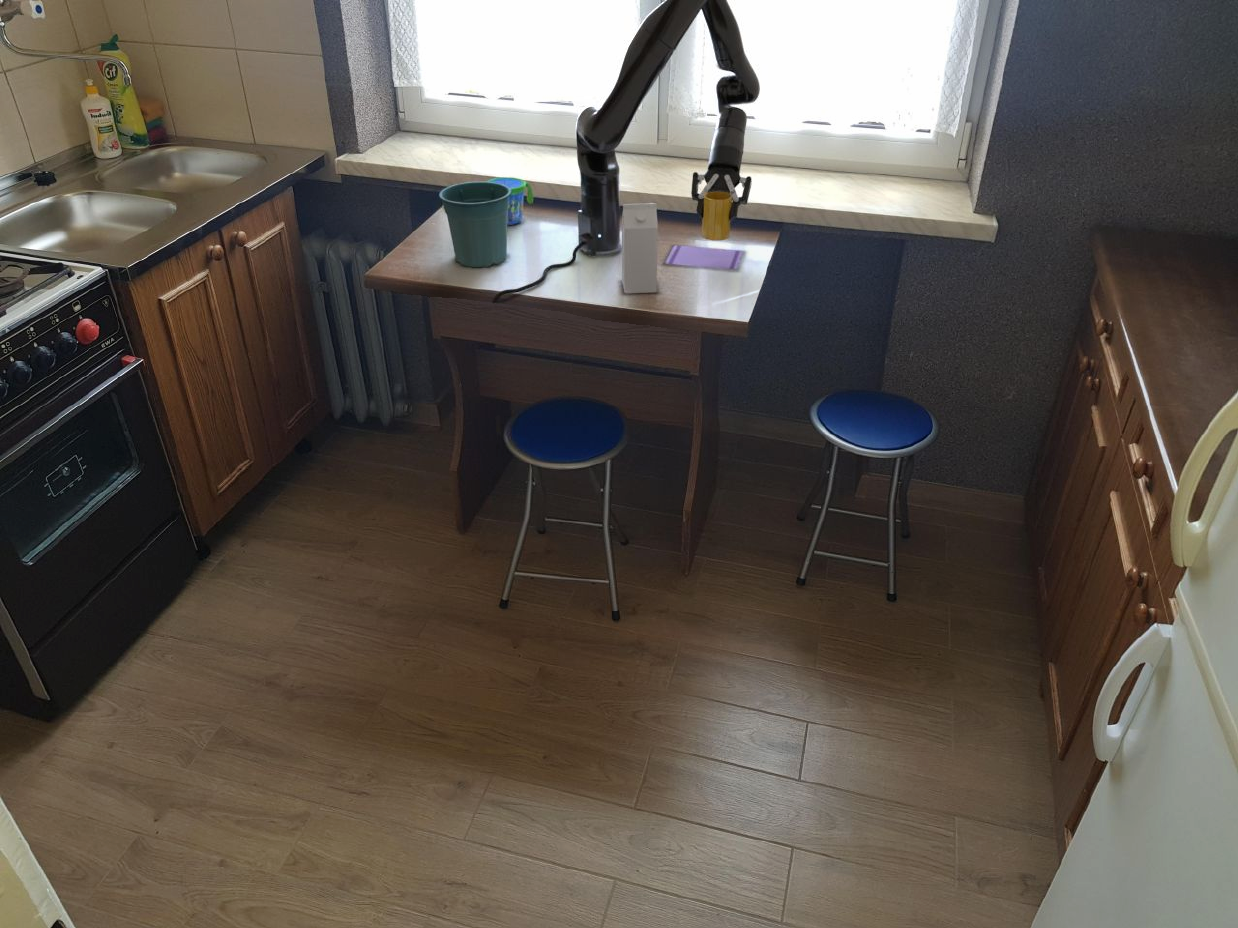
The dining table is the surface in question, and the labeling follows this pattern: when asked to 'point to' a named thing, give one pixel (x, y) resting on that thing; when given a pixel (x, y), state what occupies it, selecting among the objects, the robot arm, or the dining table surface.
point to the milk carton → (639, 248)
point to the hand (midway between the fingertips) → (716, 217)
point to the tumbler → (716, 215)
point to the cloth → (704, 257)
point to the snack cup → (515, 197)
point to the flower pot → (477, 221)
